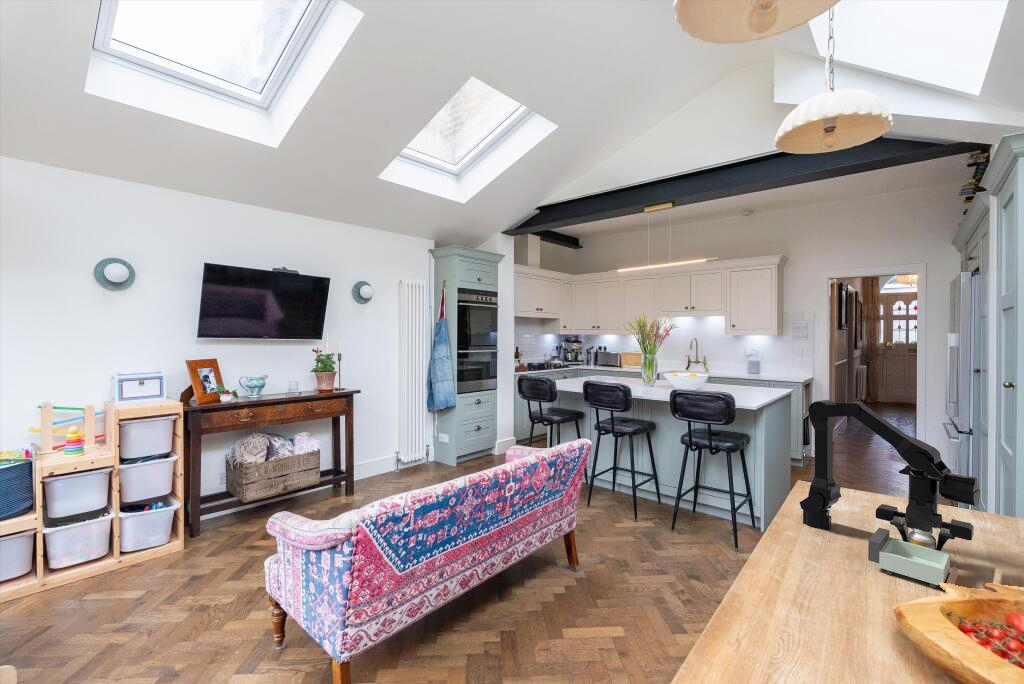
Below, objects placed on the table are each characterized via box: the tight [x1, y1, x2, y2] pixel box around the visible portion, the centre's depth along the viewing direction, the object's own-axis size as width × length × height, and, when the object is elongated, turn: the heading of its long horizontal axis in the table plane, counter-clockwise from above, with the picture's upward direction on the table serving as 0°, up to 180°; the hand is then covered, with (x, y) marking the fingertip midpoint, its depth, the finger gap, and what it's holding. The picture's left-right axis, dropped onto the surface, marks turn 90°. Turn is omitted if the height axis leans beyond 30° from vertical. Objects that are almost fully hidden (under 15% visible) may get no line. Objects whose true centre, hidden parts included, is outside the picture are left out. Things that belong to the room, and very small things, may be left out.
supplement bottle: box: [908, 528, 937, 550], centre depth 121 cm, size 5×5×10 cm
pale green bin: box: [867, 527, 951, 590], centre depth 114 cm, size 14×12×7 cm
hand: (921, 553), depth 121 cm, fingers closed on supplement bottle, 5 cm apart
